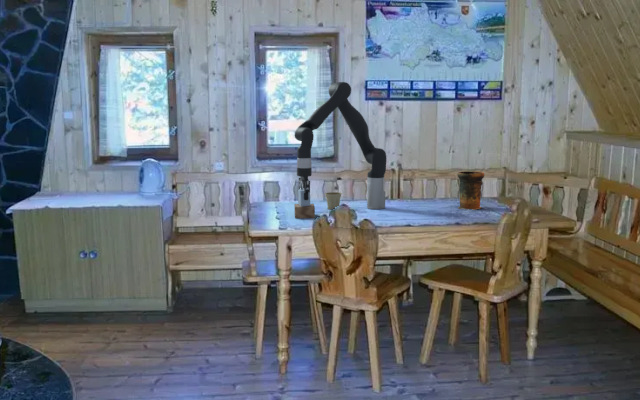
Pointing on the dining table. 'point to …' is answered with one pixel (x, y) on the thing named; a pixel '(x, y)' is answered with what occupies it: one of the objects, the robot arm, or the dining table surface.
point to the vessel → (470, 189)
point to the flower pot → (333, 199)
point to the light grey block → (301, 198)
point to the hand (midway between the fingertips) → (304, 198)
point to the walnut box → (304, 211)
